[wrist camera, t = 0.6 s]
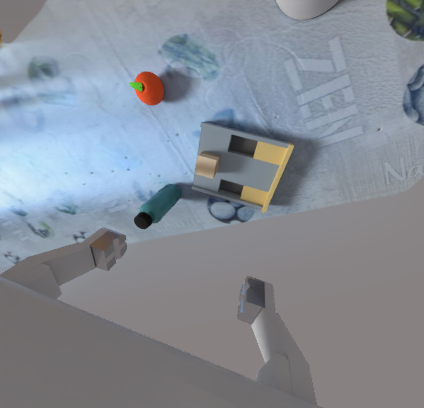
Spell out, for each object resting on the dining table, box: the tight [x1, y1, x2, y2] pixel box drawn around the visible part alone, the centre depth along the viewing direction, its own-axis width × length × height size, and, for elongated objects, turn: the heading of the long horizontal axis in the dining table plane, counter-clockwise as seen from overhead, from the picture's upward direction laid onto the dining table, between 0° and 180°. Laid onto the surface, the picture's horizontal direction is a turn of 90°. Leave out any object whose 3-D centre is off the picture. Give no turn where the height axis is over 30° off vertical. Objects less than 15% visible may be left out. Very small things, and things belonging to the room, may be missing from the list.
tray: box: [192, 122, 294, 213], centre depth 47 cm, size 23×19×5 cm
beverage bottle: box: [134, 184, 181, 229], centre depth 50 cm, size 6×7×20 cm
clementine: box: [130, 72, 164, 105], centre depth 42 cm, size 8×7×7 cm
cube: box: [195, 151, 221, 179], centre depth 45 cm, size 5×5×5 cm
